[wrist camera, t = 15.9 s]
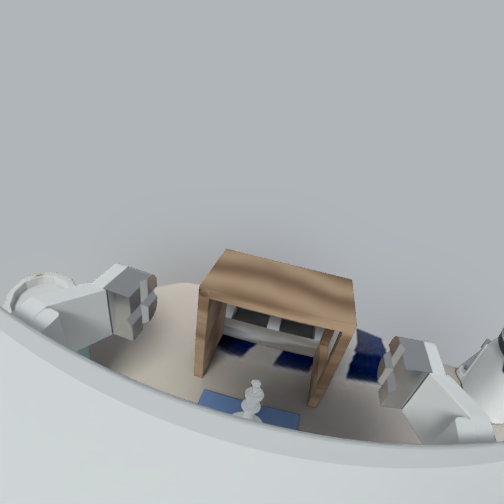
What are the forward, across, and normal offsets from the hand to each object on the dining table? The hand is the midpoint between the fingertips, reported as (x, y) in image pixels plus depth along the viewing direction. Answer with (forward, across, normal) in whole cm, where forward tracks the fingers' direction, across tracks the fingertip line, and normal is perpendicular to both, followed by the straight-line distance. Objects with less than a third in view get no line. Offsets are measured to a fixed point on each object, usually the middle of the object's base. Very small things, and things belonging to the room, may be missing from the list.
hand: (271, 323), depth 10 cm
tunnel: (+28, 0, +28) cm, 40 cm away
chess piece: (+12, 0, +28) cm, 30 cm away
